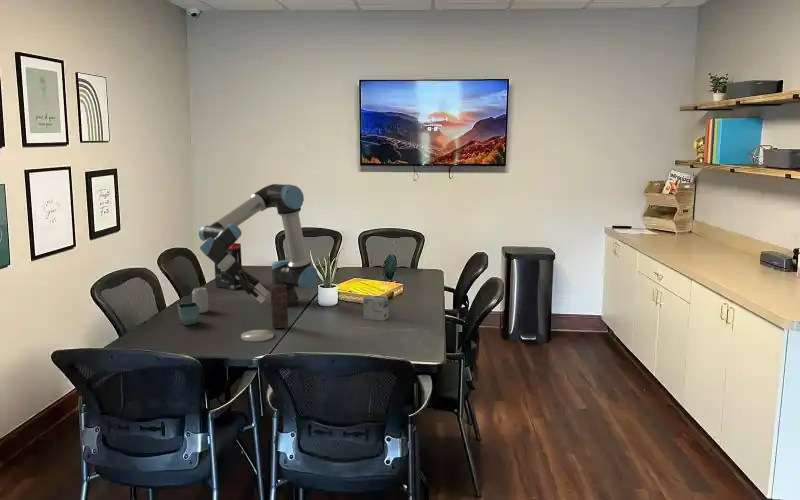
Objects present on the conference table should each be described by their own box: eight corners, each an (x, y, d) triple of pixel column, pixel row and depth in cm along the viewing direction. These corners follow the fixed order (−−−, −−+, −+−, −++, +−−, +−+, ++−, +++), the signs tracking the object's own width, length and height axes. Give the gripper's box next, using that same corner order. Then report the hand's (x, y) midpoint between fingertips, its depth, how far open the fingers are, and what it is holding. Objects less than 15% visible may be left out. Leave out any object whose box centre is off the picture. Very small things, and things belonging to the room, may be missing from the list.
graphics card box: (243, 288, 384) (241, 242, 380) (235, 290, 378) (232, 244, 374) (223, 285, 393) (221, 240, 389) (214, 287, 387) (212, 241, 383)
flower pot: (181, 327, 304) (180, 308, 303) (178, 322, 312) (177, 304, 310) (200, 324, 308) (199, 306, 307) (197, 320, 316) (196, 302, 314)
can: (204, 313, 327) (202, 290, 325) (190, 313, 329) (189, 289, 327) (211, 310, 334) (210, 287, 332) (197, 309, 336) (196, 286, 334)
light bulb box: (388, 317, 318) (388, 296, 316) (383, 321, 312) (383, 299, 310) (368, 315, 322) (368, 294, 320) (363, 319, 315) (362, 297, 314)
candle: (280, 330, 297) (278, 287, 293) (268, 328, 301) (266, 286, 297) (291, 326, 303) (290, 284, 300) (279, 324, 307) (278, 283, 304)
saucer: (266, 330, 297) (266, 328, 297) (278, 338, 286) (278, 335, 285) (236, 335, 290) (236, 333, 290) (247, 343, 278) (247, 340, 278)
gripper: (229, 266, 306) (262, 297, 310) (219, 277, 282) (255, 310, 285) (240, 255, 306) (273, 286, 309) (231, 265, 281) (267, 298, 285)
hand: (265, 297), depth 297 cm, fingers open, 13 cm apart
